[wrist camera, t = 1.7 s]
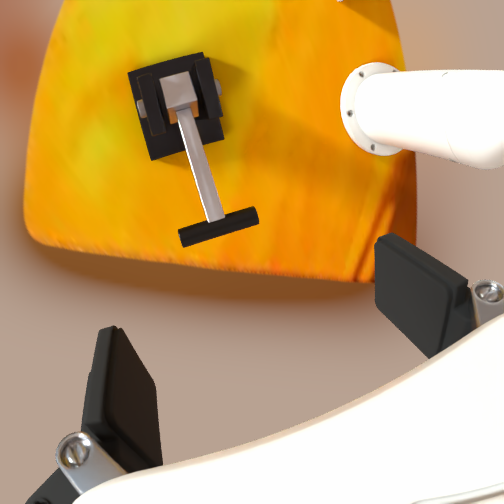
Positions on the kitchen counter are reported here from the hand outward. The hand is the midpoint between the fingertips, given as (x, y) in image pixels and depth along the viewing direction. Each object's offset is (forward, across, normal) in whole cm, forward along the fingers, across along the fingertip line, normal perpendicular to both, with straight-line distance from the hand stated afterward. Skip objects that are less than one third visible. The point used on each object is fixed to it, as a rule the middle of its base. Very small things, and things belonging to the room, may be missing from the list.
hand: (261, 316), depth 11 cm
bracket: (+26, 0, -8) cm, 28 cm away
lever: (+14, 0, -4) cm, 14 cm away
